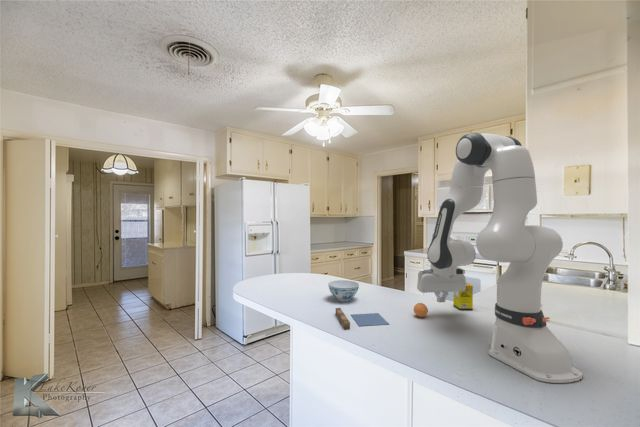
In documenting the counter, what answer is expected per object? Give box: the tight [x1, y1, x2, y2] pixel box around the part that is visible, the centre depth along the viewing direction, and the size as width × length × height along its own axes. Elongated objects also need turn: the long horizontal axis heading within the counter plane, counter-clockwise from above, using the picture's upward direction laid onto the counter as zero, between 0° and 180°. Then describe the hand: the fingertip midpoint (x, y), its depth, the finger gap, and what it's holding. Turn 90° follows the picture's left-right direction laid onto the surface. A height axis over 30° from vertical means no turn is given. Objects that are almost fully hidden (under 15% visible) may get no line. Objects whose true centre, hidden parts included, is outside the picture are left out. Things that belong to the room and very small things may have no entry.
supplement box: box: [453, 282, 474, 311], centre depth 129 cm, size 6×6×11 cm
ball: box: [413, 302, 429, 318], centre depth 118 cm, size 6×6×6 cm
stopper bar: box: [335, 307, 351, 330], centre depth 113 cm, size 16×2×2 cm, turn 9°
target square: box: [350, 312, 390, 327], centre depth 115 cm, size 12×12×1 cm
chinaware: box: [328, 279, 360, 303], centre depth 141 cm, size 15×15×8 cm
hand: (440, 301), depth 121 cm, fingers closed
